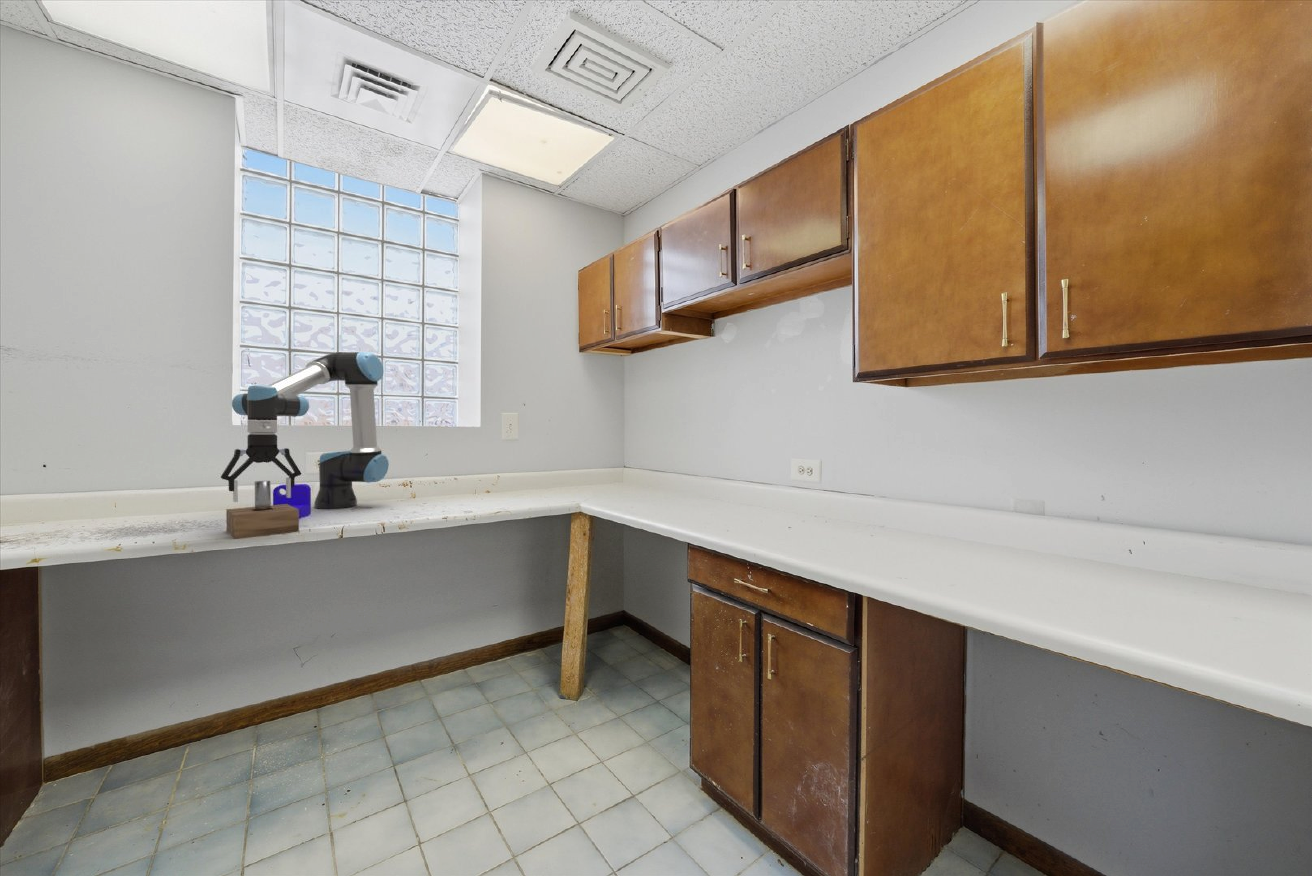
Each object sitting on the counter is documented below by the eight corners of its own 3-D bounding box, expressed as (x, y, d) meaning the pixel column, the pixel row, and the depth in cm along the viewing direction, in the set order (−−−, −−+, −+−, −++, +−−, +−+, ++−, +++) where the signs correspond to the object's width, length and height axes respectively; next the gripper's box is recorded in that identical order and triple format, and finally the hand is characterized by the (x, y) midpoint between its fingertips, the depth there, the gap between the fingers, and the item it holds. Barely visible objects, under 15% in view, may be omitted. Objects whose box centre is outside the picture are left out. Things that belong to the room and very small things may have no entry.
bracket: (276, 515, 186) (275, 484, 186) (310, 513, 191) (310, 483, 191) (263, 524, 170) (263, 490, 170) (301, 522, 175) (301, 489, 175)
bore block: (226, 530, 159) (226, 509, 159) (287, 524, 171) (287, 504, 171) (234, 538, 148) (234, 515, 148) (298, 531, 160) (298, 509, 160)
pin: (253, 524, 159) (253, 481, 159) (269, 522, 162) (269, 480, 162) (256, 526, 157) (255, 482, 156) (272, 524, 159) (271, 481, 159)
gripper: (212, 433, 147) (212, 504, 147) (311, 434, 165) (311, 497, 166) (209, 433, 152) (209, 502, 153) (305, 433, 171) (305, 494, 171)
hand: (262, 499), depth 159 cm, fingers open, 13 cm apart
